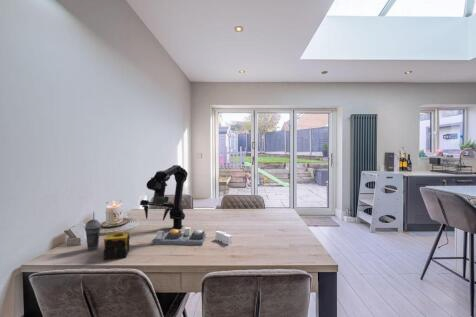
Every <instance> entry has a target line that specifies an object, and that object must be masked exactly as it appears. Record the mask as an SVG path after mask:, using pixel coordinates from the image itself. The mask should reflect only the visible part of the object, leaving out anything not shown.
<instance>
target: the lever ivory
mask: <svg viewBox="0 0 476 317" xmlns="http://www.w3.org/2000/svg"><path fill="white" fill-rule="evenodd" d="M184 227H185V228H184V230H183V231H184V232H183V233H184V235H190V234H191V233H192V232H191V226H188V227H187V226H184Z"/></svg>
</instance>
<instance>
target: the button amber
mask: <svg viewBox="0 0 476 317" xmlns="http://www.w3.org/2000/svg"><path fill="white" fill-rule="evenodd" d="M179 231H180V229H172V228H171V229H170V230H169V232H170V234H179Z"/></svg>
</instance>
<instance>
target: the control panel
mask: <svg viewBox="0 0 476 317" xmlns="http://www.w3.org/2000/svg"><path fill="white" fill-rule="evenodd" d="M206 237H207V236H206V233H205V231H203V230H202V235H194V230H193V232H191V234H190V235H184V232H183V233H182V231H181V230H179V234H170V231H169V232H164V237H163V238H162V240H161V239H156V238H157V235H156V236H155V237H154V238H153V239H152V240H151V242H152V243H151V245H178V246H181V245H182V246H183V245H184V246H203V244H204V243H205V240H206Z"/></svg>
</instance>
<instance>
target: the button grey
mask: <svg viewBox="0 0 476 317" xmlns="http://www.w3.org/2000/svg"><path fill="white" fill-rule="evenodd" d="M193 231H194V235H202V231H203V230H202V229H194V230H193Z"/></svg>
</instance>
